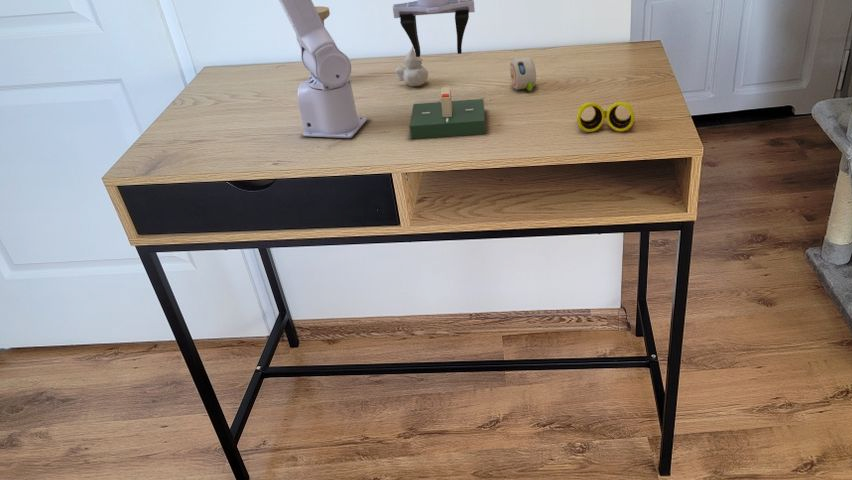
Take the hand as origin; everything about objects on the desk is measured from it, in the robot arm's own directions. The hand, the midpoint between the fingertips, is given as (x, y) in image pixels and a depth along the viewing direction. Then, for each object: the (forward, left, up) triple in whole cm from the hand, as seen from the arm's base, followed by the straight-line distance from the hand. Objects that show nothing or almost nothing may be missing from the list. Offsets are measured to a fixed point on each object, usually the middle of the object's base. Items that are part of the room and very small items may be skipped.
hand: (439, 53), depth 139 cm
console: (+4, -10, -9) cm, 15 cm away
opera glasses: (+32, -9, -10) cm, 35 cm away
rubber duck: (-9, +8, -10) cm, 15 cm away
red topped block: (+4, -10, -7) cm, 13 cm away
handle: (-28, +8, -10) cm, 31 cm away
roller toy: (+14, +8, -10) cm, 19 cm away
